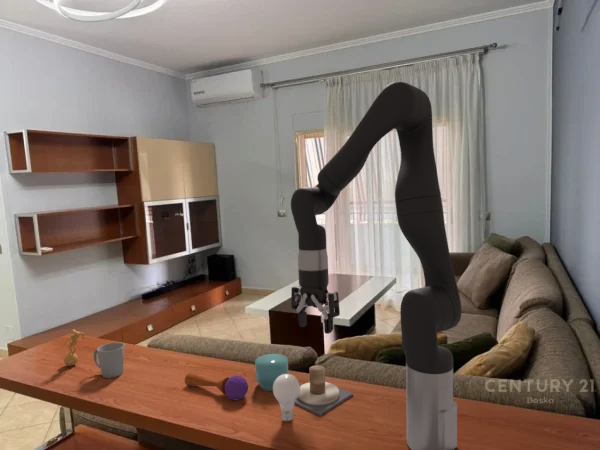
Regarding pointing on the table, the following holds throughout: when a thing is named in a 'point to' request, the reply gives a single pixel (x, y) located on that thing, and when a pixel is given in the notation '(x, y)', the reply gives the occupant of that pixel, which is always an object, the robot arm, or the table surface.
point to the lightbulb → (286, 394)
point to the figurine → (71, 357)
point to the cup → (110, 359)
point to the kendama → (221, 385)
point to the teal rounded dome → (270, 369)
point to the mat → (324, 408)
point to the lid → (318, 389)
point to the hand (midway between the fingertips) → (315, 329)
